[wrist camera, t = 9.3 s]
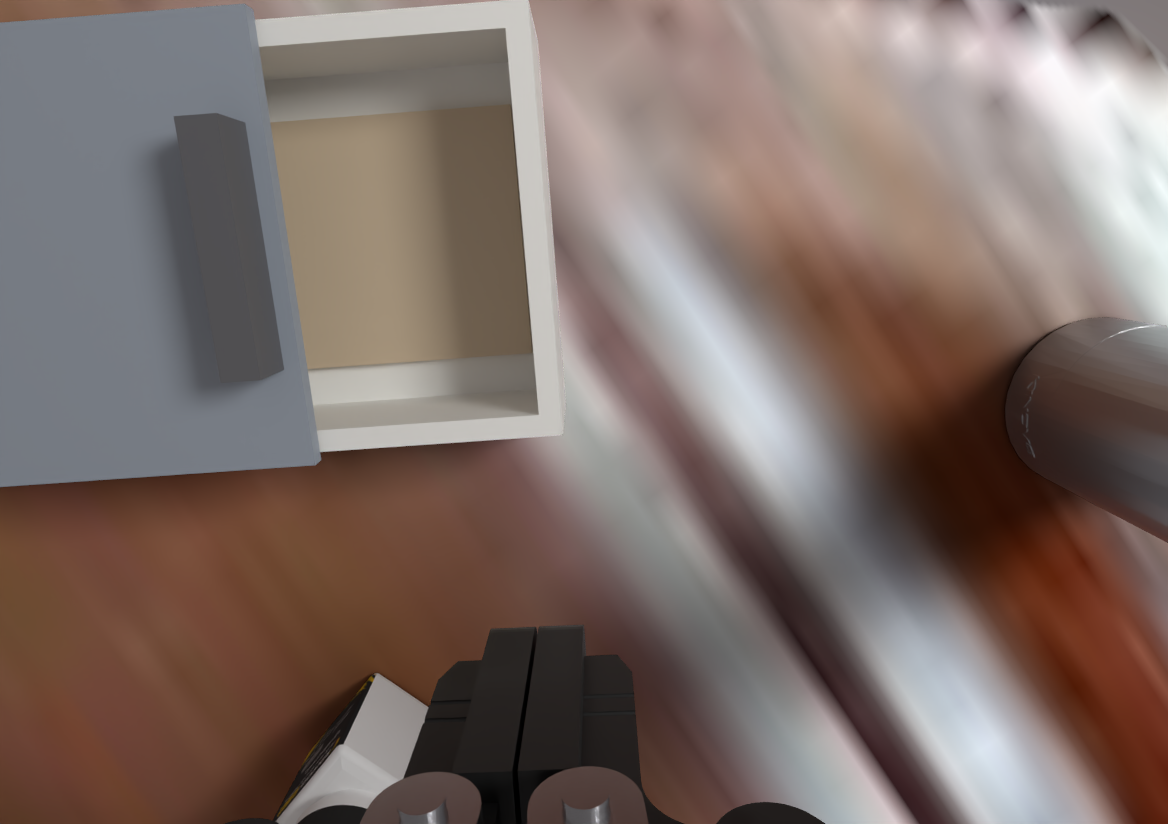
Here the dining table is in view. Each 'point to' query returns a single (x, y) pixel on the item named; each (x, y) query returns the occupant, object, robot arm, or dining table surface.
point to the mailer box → (418, 222)
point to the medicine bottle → (356, 757)
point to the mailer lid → (144, 253)
